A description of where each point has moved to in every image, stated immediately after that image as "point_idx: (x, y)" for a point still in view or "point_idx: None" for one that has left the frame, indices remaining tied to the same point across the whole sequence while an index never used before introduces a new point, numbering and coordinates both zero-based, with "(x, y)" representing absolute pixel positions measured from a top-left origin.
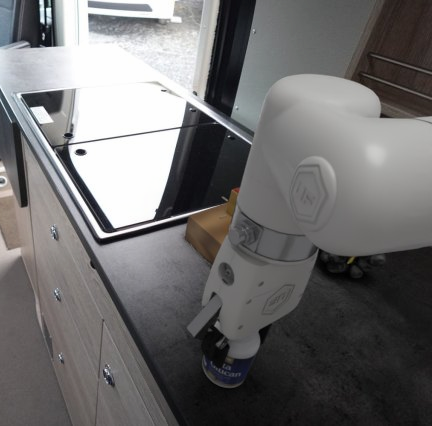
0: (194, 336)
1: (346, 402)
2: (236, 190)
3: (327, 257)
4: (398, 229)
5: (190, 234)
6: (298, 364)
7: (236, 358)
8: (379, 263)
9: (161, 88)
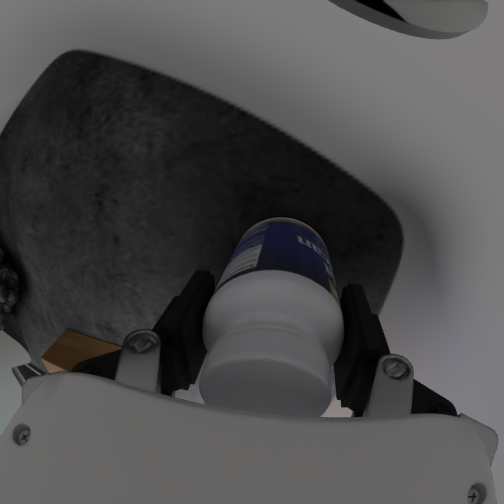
0: (497, 437)
1: (123, 94)
2: None
3: (10, 296)
4: None
5: None
6: (138, 186)
7: (328, 290)
8: None
9: None
